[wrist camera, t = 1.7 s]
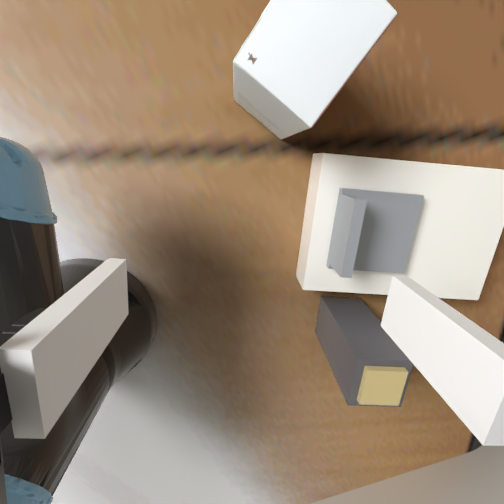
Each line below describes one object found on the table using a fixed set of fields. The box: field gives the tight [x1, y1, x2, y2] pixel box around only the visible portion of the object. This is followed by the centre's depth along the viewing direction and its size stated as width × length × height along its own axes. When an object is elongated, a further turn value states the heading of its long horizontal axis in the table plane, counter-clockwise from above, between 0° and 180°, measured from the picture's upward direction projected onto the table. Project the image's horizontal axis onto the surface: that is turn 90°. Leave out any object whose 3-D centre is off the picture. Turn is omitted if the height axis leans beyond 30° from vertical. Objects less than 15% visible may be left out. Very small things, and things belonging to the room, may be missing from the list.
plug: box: [315, 296, 413, 407], centre depth 32 cm, size 5×5×13 cm
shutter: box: [326, 188, 424, 278], centre depth 28 cm, size 8×8×4 cm
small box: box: [233, 0, 397, 140], centre depth 24 cm, size 8×6×13 cm
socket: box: [296, 153, 504, 300], centre depth 33 cm, size 20×14×4 cm
